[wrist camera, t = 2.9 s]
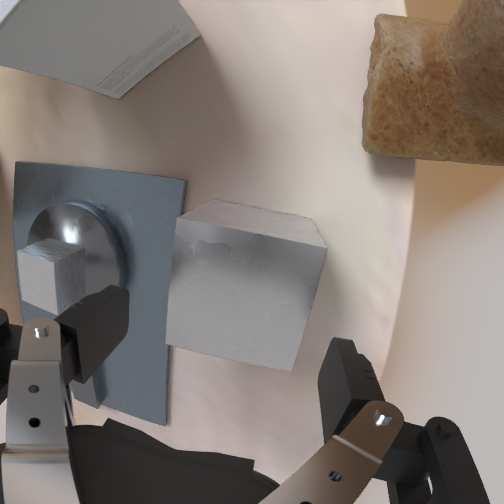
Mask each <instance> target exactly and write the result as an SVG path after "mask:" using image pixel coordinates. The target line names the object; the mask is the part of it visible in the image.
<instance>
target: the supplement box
mask: <svg viewBox="0 0 504 504" xmlns="http://www.w3.org/2000/svg"><path fill="white" fill-rule="evenodd" d="M199 36H200V32H199V30H198V29H197V27H196V26H195V24H194V23H193V21H192V20H191V18H190V17H189V16H188V14H187V13H186V11H185V10H184V9H183V7H182V6H181V4H180V3H179V2H178V0H0V66H5V67H9V68H14V69H18V70H22V71H26V72H30V73H34V74H38V75H42V76H45V77H49V78H52V79H56V80H59V81H62V82H66V83H69V84H73V85H76V86H79V87H82V88H86V89H89V90H92V91H95V92H98V93H101V94H103V95H107V96H110V97H113V98H115V99H120V97H122V96H123V95H124V94H125V93H126V92H127V91H129V90H130V89H131V88H132V87H133V86H135V85H136V84H137V83H138V82H139V81H141V80H142V79H143V78H144V77H145V76H147V75H148V74H149V73H150V72H152V71H153V70H154V69H155V68H157V67H158V66H159V65H161V64H162V63H163V62H165V61H166V60H167V59H168V58H170V57H171V56H172V55H174V54H175V53H177V52H178V51H179V50H181V49H182V48H183V47H185V46H187V45H188V44H189V43H191V42H192V41H193V40H195V39H196V38H197V37H199Z"/></svg>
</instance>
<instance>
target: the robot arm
mask: <svg viewBox="0 0 504 504" xmlns="http://www.w3.org/2000/svg"><path fill="white" fill-rule="evenodd" d="M129 300H130V294H129V290H128V289H125V288H122V287H119V286H115V285H112V284H111V285H109V286H107V287H106V288H105V289H103V290H102V291H100V292H99V293H98V292H97V293H93V294H90V295H87V296H85V297H84V298H82V299H81V300H80V301H79V302H77V303H75V304H74V305H73V306H72V307H70V308H69V309H67V310H66V311H64V312H63V313H62V314H60V315H59V316H58V317H56V318H55V319H54V320H52V319H49V318H35V319H32V320H30V321H28V322H27V323H25V325H24V326H23V327H22V326H18V325H13V324H9V320H8V315H7V312H6V311H5V310H3V309H1V308H0V405H1V403H2V402H3V401H4V400H5V399H6V398H7V412H6V443H2V444H0V504H353V503H354V502H355V501H356V499H357V498H358V497H359V495H360V494H361V493H362V491H363V490H364V489H365V487H366V486H367V484H368V483H369V481H370V480H371V479H372V478H376V479H380V480H384V481H387V487H388V494H389V500H390V504H490V502H489V499H488V496H487V493H486V491H485V488H484V485H483V483H482V480H481V478H480V475H479V473H478V470H477V468H476V465H475V463H474V461H473V458H472V456H471V453H470V451H469V449H468V446H467V444H466V442H465V440H464V438H463V435H462V433H461V431H460V429H459V428H458V426H457V425H456V424H455V423H454V422H452V421H451V420H449V419H446V418H444V417H433V418H431V419H429V421H428V422H427V423H426V425H425V426H424V427H422V426H419V425H415V424H411V423H408V422H405V421H404V417H403V414H402V412H401V411H400V410H399V409H398V408H397V407H396V406H394V405H393V404H390V403H388V402H386V401H385V399H384V396H383V393H382V391H381V388H380V385H379V383H378V380H377V378H376V375H375V373H374V370H373V367H372V365H371V362H370V361H369V360H368V359H367V358H366V357H365V356H364V355H363V354H358V353H357V350H356V347H355V344H354V342H353V340H348V339H342V338H336V337H334V338H333V339H332V340H331V342H330V345H329V348H328V351H327V353H326V356H325V358H324V361H323V364H322V366H321V369H320V372H319V376H318V391H319V399H320V408H321V416H322V426H323V435H324V446H323V447H322V448H321V449H320V450H319V451H318V452H317V453H316V454H315V455H314V456H313V457H311V458H310V459H309V460H308V461H307V462H306V463H305V464H304V465H303V466H302V467H301V468H300V469H299V470H298V471H296V472H295V473H294V474H293V475H292V476H291V477H290V478H289V479H287V480H286V481H285V482H284V483H283V484H282V485H279V484H278V483H277V482H275V481H274V480H272V479H271V478H269V477H267V476H265V475H263V474H261V473H259V472H257V471H254V470H253V468H254V460H252V459H246V458H241V457H236V456H231V455H226V454H221V453H217V452H197V451H183V450H176V449H173V448H171V447H169V446H167V445H165V444H163V443H162V442H160V441H158V440H156V439H155V438H153V437H151V436H149V435H148V434H146V433H144V432H143V431H141V430H138V429H135V428H133V427H130V426H127V425H125V424H122V423H120V422H117V421H115V420H112V419H110V418H108V419H107V420H106V422H105V423H104V425H103V426H95V425H76V424H75V418H74V412H73V406H72V398H71V391H70V385H69V383H70V382H71V381H72V380H75V381H77V382H79V383H81V384H85V383H86V382H87V380H88V379H89V378H90V377H91V376H92V375H93V373H94V372H95V371H96V370H97V369H98V368H99V366H100V365H101V364H102V363H103V362H104V361H105V359H106V358H107V357H108V356H109V355H110V354H111V353H112V351H113V350H114V349H115V348H116V347H117V346H118V345H119V344H120V342H121V341H122V340H123V339H124V338H125V336H126V334H127V331H128V327H129ZM429 476H430V480H431V483H432V488H433V491H432V494H431V491H430V487H429V483H428V479H427V478H428V477H429Z"/></svg>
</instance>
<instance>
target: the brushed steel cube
mask: <svg viewBox="0 0 504 504" xmlns="http://www.w3.org/2000/svg"><path fill="white" fill-rule="evenodd" d="M326 252H327V246H326V244H325V242H324V241H323V239H322V237H321V235H320V233H319V231H318V230H317V228H316V226H315V224H314V222H313V220H312V219H310V218H305V217H301V216H296V215H291V214H287V213H282V212H277V211H272V210H267V209H262V208H257V207H252V206H247V205H241V204H236V203H231V202H225V201H220V200H215V199H213V200H211V201H209V202H207V203H205V204H203V205H201V206H199V207H197V208H195V209H193V210H191V211H189V212H187V213H185V214H183V215H181V216H179V217H177V220H176V228H175V236H174V245H173V254H172V264H171V274H170V285H169V297H168V311H167V326H166V344H168V345H171V346H175V347H179V348H183V349H186V350H190V351H194V352H198V353H202V354H206V355H211V356H215V357H219V358H224V359H228V360H233V361H237V362H242V363H247V364H252V365H257V366H262V367H268V368H273V369H279V370H285V371H291V372H292V369H293V366H294V363H295V360H296V357H297V354H298V351H299V347H300V344H301V341H302V338H303V334H304V331H305V328H306V325H307V321H308V318H309V314H310V311H311V308H312V304H313V301H314V297H315V293H316V290H317V286H318V283H319V279H320V275H321V272H322V268H323V264H324V260H325V256H326Z"/></svg>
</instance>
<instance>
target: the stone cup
mask: <svg viewBox="0 0 504 504" xmlns="http://www.w3.org/2000/svg"><path fill="white" fill-rule="evenodd" d="M374 27H375V30H376V31H375V37H374V40H373V42H372V45H371V48H370V50H371V58H370V67H369V70H368V77H367V78H368V87H367V89H366V91H365V94H364V97H363V118H362V128H363V138H362V145H363V148H364V150H365V151H366V152H368V153H370V154H373V155H383V156H393V157H404V158H413V159H423V160H436V161H454V162H461V163H471V164H483V165H498V166H504V0H463V1H462V3H461V5H460V7H459V8H458V10H457V12H456V13H455V15H454V17H453V18H452V20H451V21H450V22H449V23H448V24H446V23H441V22H436V21H431V20H425V19H417V18H410V17H403V16H395V15H387V14H379V15H377V16H376V18H375V22H374Z"/></svg>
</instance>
